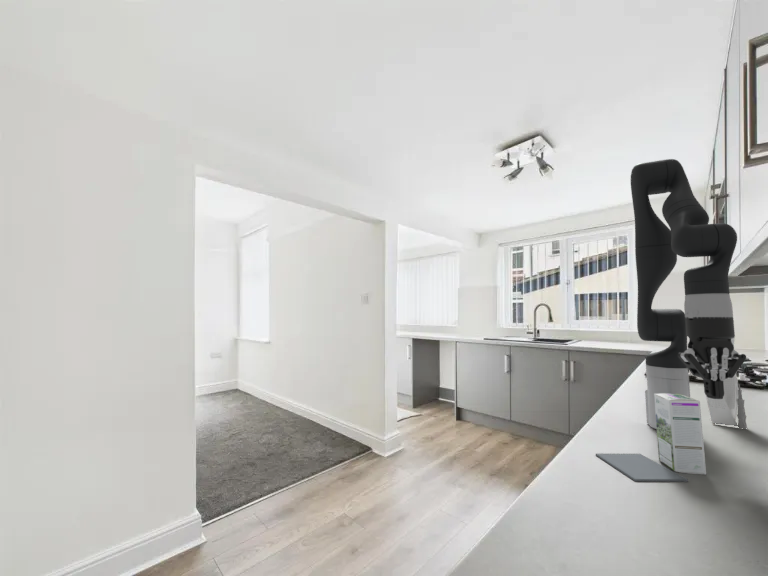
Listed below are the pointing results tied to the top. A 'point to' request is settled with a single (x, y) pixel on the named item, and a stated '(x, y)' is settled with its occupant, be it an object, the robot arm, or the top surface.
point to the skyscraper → (728, 404)
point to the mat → (641, 468)
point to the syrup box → (680, 433)
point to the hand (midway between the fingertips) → (714, 398)
